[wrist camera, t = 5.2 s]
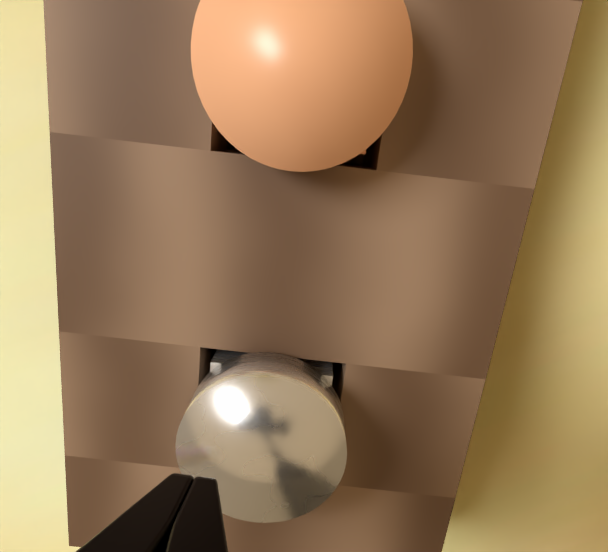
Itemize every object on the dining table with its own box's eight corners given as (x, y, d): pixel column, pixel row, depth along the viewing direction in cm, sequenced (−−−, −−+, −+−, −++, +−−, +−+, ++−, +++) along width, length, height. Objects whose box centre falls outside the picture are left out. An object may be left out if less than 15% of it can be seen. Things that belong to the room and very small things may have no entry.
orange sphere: (391, 12, 15) (432, -58, 10) (367, 170, 16) (392, 182, 11) (236, -7, 15) (195, -88, 10) (226, 154, 16) (186, 159, 11)
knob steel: (345, 317, 18) (358, 387, 13) (329, 428, 19) (334, 530, 14) (217, 303, 18) (178, 367, 13) (210, 415, 19) (172, 513, 14)
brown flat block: (532, -90, 15) (633, -198, 10) (406, 488, 22) (433, 584, 17) (121, -141, 15) (31, -274, 10) (122, 457, 22) (68, 545, 17)
